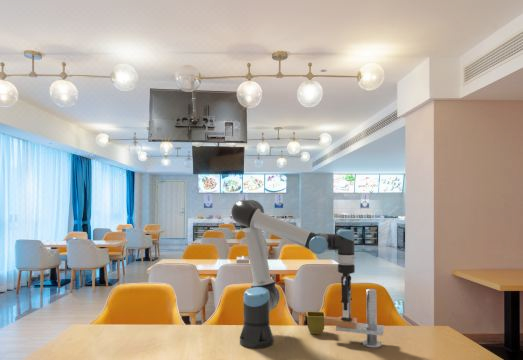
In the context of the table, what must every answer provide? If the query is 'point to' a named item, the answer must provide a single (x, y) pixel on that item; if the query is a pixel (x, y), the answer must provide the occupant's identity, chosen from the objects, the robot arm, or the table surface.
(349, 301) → the pin
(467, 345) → the table surface
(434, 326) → the table surface
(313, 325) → the flower pot
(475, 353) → the table surface
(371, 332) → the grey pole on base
